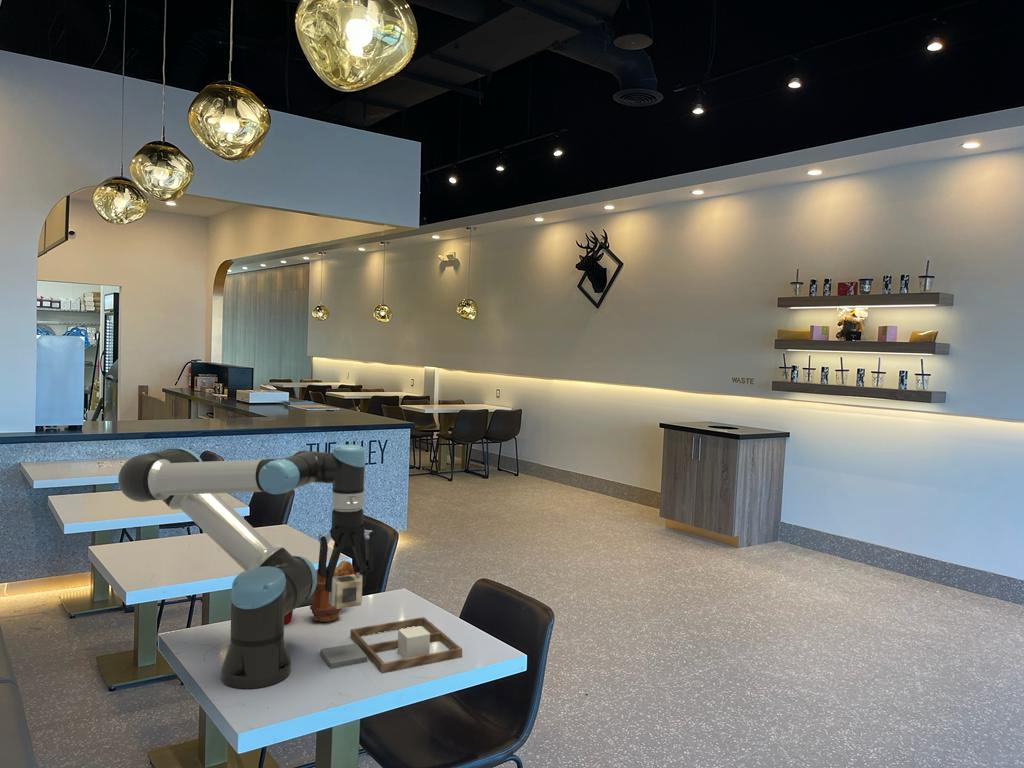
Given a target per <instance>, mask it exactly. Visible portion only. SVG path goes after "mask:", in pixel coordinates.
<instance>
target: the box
mask: <svg viewBox="0 0 1024 768" xmlns="http://www.w3.org/2000/svg"><path fill="white" fill-rule="evenodd" d="M419 625H423V626H424V627H423V626H422V627H423V628H424V629H425V630H426V631H427V632H428V633H429V634H430V643H434V642H441V643H442V644H443V645H444V646H445V647H446V648H447V649H448V650H442V651H438V652H432V653H429V654H426V655H421V656H416V657H411V658H406V659H403V658H401V659H397V660H392V661H386V662H384V660H383V659H382V658H381V657H379V655H378V654H377V653H381V652H385V650H387V651H391V649H392V650H395V649H396V648H398V638H397V639H393V640H388V641H382V642H376V643H371V644H368V643H367V642H366V641H365V640H364V638H362V637H363V636H362V635H365V636H369V635H368V634H370V635H374V634H373V633H376V634H379V633H378V632H382V633H385V632H384V631H388V632H390V631H389V630H394V631H396V630H395V629H401V628H407V627H412V626H419ZM349 632H350V633H349V634H350V635H349V637H350V636H351V637H350V638H351V639H352V640H353V642H354V643H356V644H357V645H358V646H359V648H360V649H361V650H362V651H363V652H364V653H365V654H366V656H367V659H369V660H370V661H371V663H373V665H374V666H375V667H376V668H377V669H378V671H379V672H380V673H381V674H384V673H389V671H390V672H394V671H399V670H403V668H404V669H408V668H414V667H418V665H419V666H423V664H424V665H427V664H433V663H439V662H443V661H449V660H453V659H458V658H463V648H462V647H461V646H459V645H458V644H457V643H456V642H454V641H453V640H452V639H451V638H450V636H447V635H446V634H445V633H444V632H443V631H441V630H440V629H439V628H438V627H437V626H435V625H434V624H433V623H432V622H430V621H429V620H428V619H427V618H426V617H425V616H424V617H423V616H422V617H417V618H410V619H403V620H398V621H392V622H385V623H380V624H375V625H374V624H373V625H368V626H363V627H362V626H361V627H356V628H351V629H350V631H349ZM380 651H381V652H380ZM375 652H376V653H375ZM413 666H414V667H413Z"/></svg>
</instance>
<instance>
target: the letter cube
mask: <svg viewBox="0 0 1024 768" xmlns="http://www.w3.org/2000/svg"><path fill="white" fill-rule="evenodd" d="M334 578H335V579H336V582H335V608H336V609H341V608H343V609H346V608H347V609H348V608H353V607H359V606H361V607H362V602H361V594H362V595H363V587H362V581H361V580H360V579H359V578H358V577H357V576H356V573H355V574H352V575H344V576H343V575H339V576H336V577H334Z"/></svg>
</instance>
